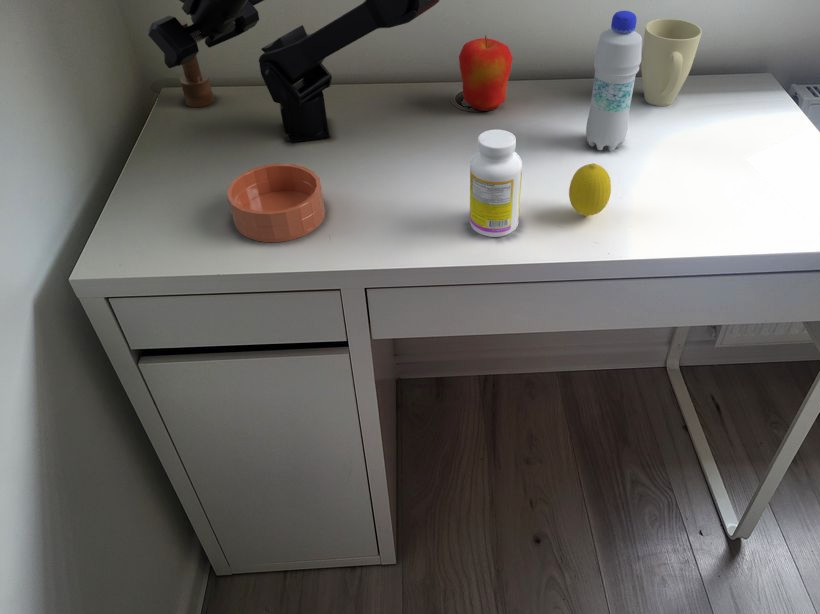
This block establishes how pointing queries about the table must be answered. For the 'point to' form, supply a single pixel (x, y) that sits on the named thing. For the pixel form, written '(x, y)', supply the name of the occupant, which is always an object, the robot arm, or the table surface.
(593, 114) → the bottle
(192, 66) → the pestle
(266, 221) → the bowl
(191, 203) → the table surface
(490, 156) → the supplement bottle
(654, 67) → the mug
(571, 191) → the lemon
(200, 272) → the table surface
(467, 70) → the apple
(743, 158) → the table surface
